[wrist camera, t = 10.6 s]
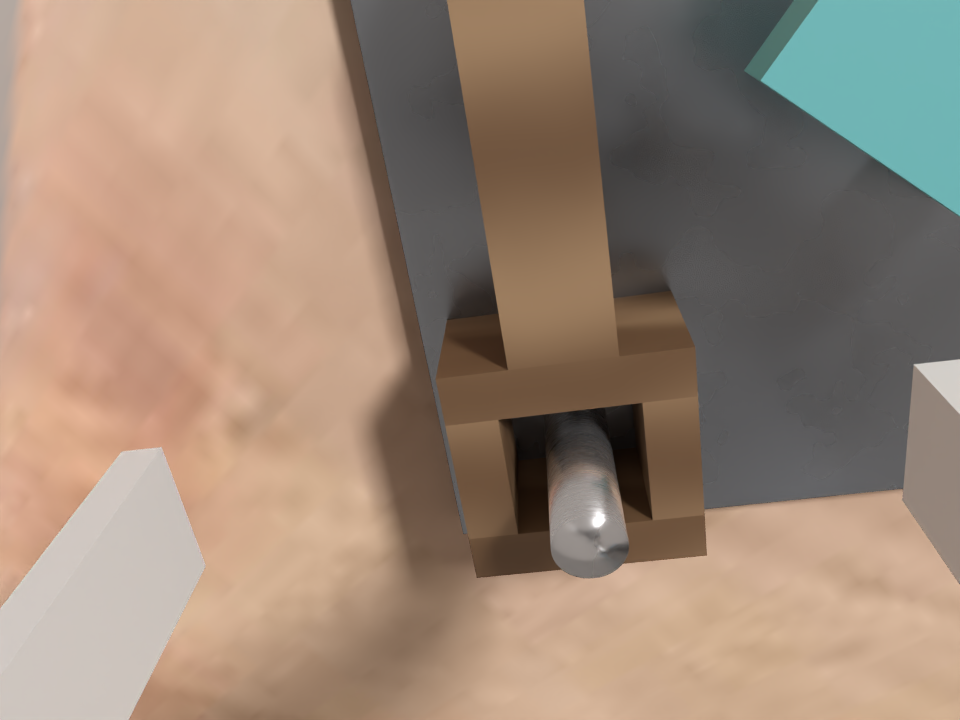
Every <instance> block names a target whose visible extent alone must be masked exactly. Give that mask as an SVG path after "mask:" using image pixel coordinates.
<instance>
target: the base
mask: <svg viewBox="0 0 960 720" xmlns="http://www.w3.org/2000/svg"><path fill="white" fill-rule="evenodd" d="M793 1H794V0H584V6H585V16H586V27H587V37H588V47H589V57H590V67H591V77H592V87H593V97H594V107H595V117H596V127H597V137H598V147H599V157H600V167H601V178H602V188H603V198H604V208H605V218H606V228H607V238H608V248H609V258H610V268H611V278H612V288H613V298H620V297H627V296H635V295H643V294H650V293H658V292H665V291H672V294H673V296H674V298H675V301H676V303H677V305H678V308H679V310H680V312H681V315H682V317H683V319H684V322H685V324H686V326H687V329H688V331H689V333H690V336H691V338H692V340H693V343H694V345H695V351H696V369H697V387H698V405H699V423H700V441H701V459H702V478H703V496H704V509H710V508H720V507H729V506H739V505H749V504H758V503H768V502H778V501H787V500H797V499H807V498H816V497H826V496H836V495H845V494H855V493H865V492H874V491H884V490H894V489H903V486H904V475H905V463H906V451H907V439H908V427H909V415H910V403H911V391H912V379H913V367H914V364H922V363H931V362H940V361H949V360H958V359H960V217H959V216H957V215H956V214H954V213H953V212H951V211H950V210H948V209H947V208H945V207H944V206H942V205H941V204H939V203H938V202H936V201H935V200H933V199H932V198H931V197H929V196H928V195H926V194H925V193H923V192H922V191H920V190H919V189H917V188H916V187H914V186H913V185H911V184H910V183H908V182H907V181H905V180H904V179H903V178H901V177H900V176H898V175H897V174H895V173H894V172H892V171H891V170H889V169H888V168H886V167H885V166H883V165H882V164H880V163H879V162H877V161H876V160H875V159H873V158H872V157H870V156H869V155H867V154H866V153H864V152H863V151H861V150H860V149H858V148H857V147H855V146H854V145H852V144H851V143H849V142H848V141H847V140H845V139H844V138H842V137H841V136H839V135H838V134H836V133H835V132H833V131H832V130H830V129H829V128H827V127H826V126H824V125H823V124H821V123H820V122H819V121H817V120H816V119H814V118H813V117H811V116H810V115H808V114H807V113H805V112H804V111H802V110H801V109H799V108H798V107H796V106H795V105H793V104H792V103H791V102H789V101H788V100H786V99H785V98H783V97H782V96H780V95H779V94H777V93H776V92H774V91H773V90H771V89H770V88H768V87H767V86H765V85H764V84H763V83H761V82H760V81H758V80H757V79H755V78H754V77H752V76H751V75H749V74H748V73H746V72H745V71H744V70H745V68H746V67H747V66H748V64H749V63H750V61H751V60H752V59H753V57H754V56H755V54H756V53H757V52H758V50H759V49H760V47H761V46H762V45H763V43H764V42H765V40H766V39H767V37H768V36H769V35H770V33H771V32H772V30H773V29H774V28H775V26H776V25H777V23H778V22H779V21H780V19H781V18H782V16H783V15H784V14H785V12H786V11H787V9H788V8H789V6H790V5H791V4H792V2H793ZM351 5H352V10H353V14H354V19H355V24H356V28H357V33H358V38H359V43H360V47H361V52H362V57H363V62H364V66H365V71H366V76H367V80H368V85H369V90H370V95H371V99H372V104H373V109H374V114H375V118H376V123H377V128H378V133H379V137H380V142H381V147H382V151H383V156H384V161H385V166H386V170H387V175H388V180H389V185H390V189H391V194H392V199H393V203H394V208H395V213H396V218H397V222H398V227H399V232H400V237H401V241H402V246H403V251H404V256H405V260H406V265H407V270H408V274H409V279H410V284H411V289H412V293H413V298H414V303H415V308H416V312H417V317H418V322H419V326H420V331H421V336H422V341H423V345H424V350H425V355H426V360H427V364H428V369H429V374H430V378H431V383H432V388H433V393H434V397H435V402H436V407H437V412H438V416H439V421H440V426H441V431H442V435H443V440H444V445H445V449H446V454H447V459H448V464H449V468H450V473H451V478H452V483H453V487H454V492H455V497H456V501H457V506H458V511H459V516H460V520H461V525H462V530H463V534H468V533H467V528H466V523H465V518H464V514H463V509H462V504H461V499H460V494H459V490H458V485H457V480H456V475H455V470H454V466H453V461H452V456H451V451H450V446H449V442H448V437H447V432H446V427H445V422H444V418H443V413H442V408H441V403H440V398H439V394H438V389H437V384H436V374H437V369H438V364H439V359H440V354H441V348H442V343H443V338H444V333H445V328H446V323H447V320H453V319H460V318H468V317H476V316H483V315H491V314H498V307H497V301H496V295H495V289H494V283H493V276H492V270H491V264H490V258H489V252H488V246H487V240H486V234H485V228H484V222H483V216H482V210H481V204H480V198H479V192H478V185H477V179H476V173H475V167H474V161H473V155H472V149H471V143H470V137H469V131H468V125H467V119H466V113H465V107H464V101H463V95H462V88H461V82H460V76H459V70H458V64H457V58H456V52H455V46H454V40H453V34H452V28H451V22H450V16H449V10H448V4H447V0H351ZM511 419H512V425H513V431H514V437H515V443H516V449H517V455H518V461H519V460H528V459H537V458H546V462H547V483H548V503H549V524H550V544H551V554H552V557H553V560H554V561H555V563H556V564H557V565H558V566H559V567H560V568H561V569H562V570H563V571H565V572H566V573H568V574H570V575H573V576H576V577H580V578H598V577H602V576H605V575H608V574H610V573H612V572H614V571H615V570H617V569H618V568H619V567H620V566H621V565H622V564H623V563H624V561H625V560H626V558H627V555H628V552H629V541H628V536H627V530H626V525H625V519H624V513H623V508H622V502H621V497H620V491H619V485H618V480H617V474H616V469H615V463H614V457H613V452H612V450H617V449H626V448H635V447H636V439H635V429H634V418H633V408H632V404H628V405H620V406H611V407H603V408H594V409H586V410H577V411H569V412H560V413H552V414H543V415H535V416H526V417H518V418H511Z"/></svg>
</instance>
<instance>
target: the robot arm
mask: <svg viewBox="0 0 960 720" xmlns="http://www.w3.org/2000/svg"><path fill="white" fill-rule="evenodd" d="M902 500H903V502H904V503H905V505H906V506H907V508H908V509H909V511H910V512H911V514H912V515H913V517H914V518H915V520H916V521H917V522H918V524H919V525H920V527H921V528H922V530H923V531H924V533H925V534H926V536H927V537H928V539H929V540H930V542H931V543H932V545H933V546H934V547H935V549H936V550H937V552H938V553H939V555H940V556H941V558H942V559H943V561H944V562H945V564H946V565H947V567H948V568H949V570H950V571H951V572H952V574H953V575H954V577H955V578H956V580H957V581H958V583H959V584H960V359H958V360H949V361H940V362H931V363H922V364H914V367H913V379H912V391H911V403H910V415H909V427H908V439H907V451H906V463H905V475H904V486H903V498H902ZM205 566H206V565H205V562H204V560H203V557H202V554H201V552H200V549H199V546H198V544H197V541H196V538H195V535H194V533H193V530H192V527H191V525H190V522H189V519H188V517H187V514H186V511H185V509H184V506H183V503H182V501H181V498H180V495H179V493H178V490H177V487H176V485H175V482H174V479H173V476H172V474H171V471H170V468H169V466H168V463H167V460H166V458H165V455H164V452H163V450H162V447H159V448H150V449H141V450H132V451H123V452H121V453H120V455H119V456H118V457H117V458H116V460H115V461H114V462H113V464H112V465H111V466H110V467H109V469H108V470H107V471H106V473H105V474H104V475H103V477H102V478H101V479H100V480H99V482H98V483H97V484H96V486H95V487H94V488H93V489H92V491H91V492H90V493H89V495H88V496H87V497H86V498H85V500H84V501H83V502H82V504H81V505H80V506H79V507H78V509H77V510H76V511H75V513H74V514H73V515H72V517H71V518H70V519H69V520H68V522H67V523H66V524H65V526H64V527H63V528H62V529H61V531H60V532H59V533H58V535H57V536H56V537H55V538H54V540H53V541H52V542H51V544H50V545H49V546H48V547H47V549H46V550H45V551H44V553H43V554H42V555H41V557H40V558H39V559H38V560H37V562H36V563H35V564H34V566H33V567H32V568H31V569H30V571H29V572H28V573H27V575H26V576H25V577H24V578H23V580H22V581H21V582H20V584H19V585H18V586H17V587H16V589H15V590H14V591H13V593H12V594H11V595H10V597H9V598H8V599H7V600H6V602H5V603H4V604H3V606H2V607H1V608H0V720H129V718H130V716H131V714H132V712H133V710H134V708H135V706H136V704H137V702H138V700H139V698H140V696H141V694H142V692H143V690H144V688H145V686H146V684H147V682H148V680H149V678H150V676H151V674H152V672H153V670H154V668H155V666H156V664H157V662H158V660H159V658H160V656H161V654H162V652H163V650H164V648H165V646H166V644H167V642H168V640H169V638H170V636H171V634H172V632H173V630H174V628H175V626H176V624H177V622H178V620H179V618H180V616H181V614H182V612H183V610H184V608H185V606H186V604H187V602H188V600H189V598H190V596H191V594H192V592H193V590H194V588H195V586H196V584H197V582H198V580H199V578H200V576H201V574H202V572H203V570H204V568H205Z"/></svg>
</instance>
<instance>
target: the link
mask: <svg viewBox="0 0 960 720" xmlns="http://www.w3.org/2000/svg"><path fill="white" fill-rule="evenodd" d="M447 4H448V10H449V16H450V22H451V28H452V34H453V40H454V46H455V52H456V58H457V64H458V70H459V76H460V82H461V88H462V95H463V101H464V107H465V113H466V119H467V125H468V131H469V137H470V143H471V149H472V155H473V161H474V167H475V173H476V179H477V185H478V192H479V198H480V204H481V210H482V216H483V222H484V228H485V234H486V240H487V246H488V252H489V258H490V264H491V270H492V276H493V283H494V289H495V295H496V301H497V307H498V314H491V315H483V316H476V317H468V318H460V319H453V320H447V323H446V328H445V333H444V338H443V343H442V348H441V354H440V359H439V364H438V369H437V374H436V384H437V389H438V394H439V398H440V403H441V408H442V413H443V418H444V422H445V427H446V432H447V437H448V442H449V446H450V451H451V456H452V461H453V466H454V470H455V475H456V480H457V485H458V490H459V494H460V499H461V504H462V509H463V514H464V518H465V523H466V528H467V533H468V538H469V543H470V547H471V552H472V557H473V562H474V567H475V571H476V576H477V578H480V577H490V576H501V575H511V574H521V573H531V572H542V571H552V570H562V569H561V568H560V567H559V566H558V565H557V564H556V563H555V561H554V560H553V557H552V554H551V544H550V524H549V503H548V483H547V462H546V458H537V459H528V460H519V461H518V455H517V449H516V443H515V437H514V431H513V425H512V419H511V418H518V417H526V416H535V415H543V414H552V413H560V412H569V411H577V410H586V409H594V408H603V407H611V406H620V405H628V404H632V408H633V418H634V429H635V439H636V447H635V448H626V449H617V450H612V452H613V457H614V463H615V469H616V474H617V480H618V485H619V491H620V497H621V502H622V508H623V513H624V519H625V525H626V530H627V536H628V541H629V552H628V555H627V558H626V560H625V561H624V563H634V562H645V561H655V560H665V559H675V558H686V557H696V556H706V555H707V550H706V532H705V514H704V496H703V478H702V459H701V441H700V423H699V405H698V387H697V369H696V351H695V345H694V343H693V340H692V338H691V336H690V333H689V331H688V329H687V326H686V324H685V322H684V319H683V317H682V315H681V312H680V310H679V308H678V305H677V303H676V301H675V298H674V296H673V294H672V291H665V292H658V293H650V294H643V295H635V296H627V297H620V298H613V288H612V278H611V268H610V258H609V248H608V238H607V228H606V218H605V208H604V198H603V188H602V178H601V167H600V157H599V147H598V137H597V127H596V117H595V107H594V97H593V87H592V77H591V67H590V57H589V47H588V37H587V27H586V16H585V6H584V0H447ZM624 563H623V564H624Z"/></svg>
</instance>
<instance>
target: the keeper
mask: <svg viewBox="0 0 960 720" xmlns="http://www.w3.org/2000/svg"><path fill="white" fill-rule="evenodd" d="M744 71H745V72H746V73H748V74H749V75H751V76H752V77H754V78H755V79H757V80H758V81H760V82H761V83H763V84H764V85H765V86H767V87H768V88H770V89H771V90H773V91H774V92H776V93H777V94H779V95H780V96H782V97H783V98H785V99H786V100H788V101H789V102H791V103H792V104H793V105H795V106H796V107H798V108H799V109H801V110H802V111H804V112H805V113H807V114H808V115H810V116H811V117H813V118H814V119H816V120H817V121H819V122H820V123H821V124H823V125H824V126H826V127H827V128H829V129H830V130H832V131H833V132H835V133H836V134H838V135H839V136H841V137H842V138H844V139H845V140H847V141H848V142H849V143H851V144H852V145H854V146H855V147H857V148H858V149H860V150H861V151H863V152H864V153H866V154H867V155H869V156H870V157H872V158H873V159H875V160H876V161H877V162H879V163H880V164H882V165H883V166H885V167H886V168H888V169H889V170H891V171H892V172H894V173H895V174H897V175H898V176H900V177H901V178H903V179H904V180H905V181H907V182H908V183H910V184H911V185H913V186H914V187H916V188H917V189H919V190H920V191H922V192H923V193H925V194H926V195H928V196H929V197H931V198H932V199H933V200H935V201H936V202H938V203H939V204H941V205H942V206H944V207H945V208H947V209H948V210H950V211H951V212H953V213H954V214H956V215H957V216H959V217H960V0H794V1H793V2H792V4H791V5H790V6H789V8H788V9H787V11H786V12H785V14H784V15H783V16H782V18H781V19H780V21H779V22H778V23H777V25H776V26H775V28H774V29H773V30H772V32H771V33H770V35H769V36H768V37H767V39H766V40H765V42H764V43H763V45H762V46H761V47H760V49H759V50H758V52H757V53H756V54H755V56H754V57H753V59H752V60H751V61H750V63H749V64H748V66H747V67H746V68H745V70H744Z"/></svg>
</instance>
